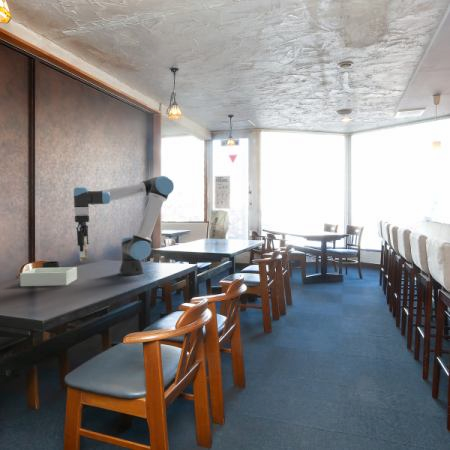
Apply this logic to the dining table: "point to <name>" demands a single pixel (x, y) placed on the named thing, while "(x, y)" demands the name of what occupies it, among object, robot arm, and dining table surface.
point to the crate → (48, 276)
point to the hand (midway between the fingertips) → (83, 256)
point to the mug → (50, 264)
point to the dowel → (84, 259)
